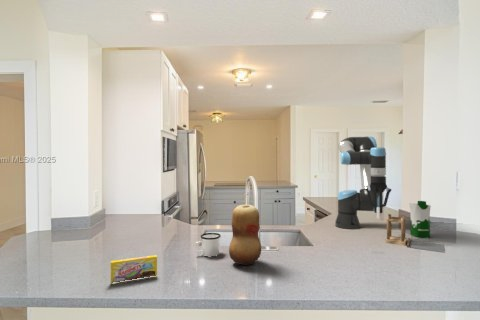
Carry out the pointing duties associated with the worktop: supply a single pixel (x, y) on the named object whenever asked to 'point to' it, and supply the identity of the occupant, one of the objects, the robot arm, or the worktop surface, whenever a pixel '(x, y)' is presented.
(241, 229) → the butternut squash
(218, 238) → the mug
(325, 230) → the worktop surface
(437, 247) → the mat
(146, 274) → the candy box
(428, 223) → the milk carton
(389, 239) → the stool
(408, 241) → the strip
